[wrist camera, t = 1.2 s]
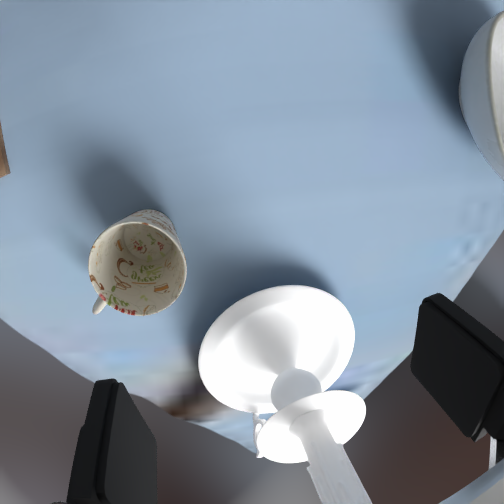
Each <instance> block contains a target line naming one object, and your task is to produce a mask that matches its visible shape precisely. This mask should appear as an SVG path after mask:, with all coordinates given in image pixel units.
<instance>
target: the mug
mask: <svg viewBox="0 0 504 504" xmlns="http://www.w3.org/2000/svg"><path fill="white" fill-rule="evenodd" d="M88 270H89V276H90V280H91V282H92V285H93V287H94V289H95V290H96V292H97V293H98V295H99V297H98V298H97V300H96V302H95V304H94V306H93V310H92V311H93V314H98V313H99V312H101V311H102V309H103V308H104V307H105V306H106V304H108V305H109V306H111V307H112V308H114V309H116V310H118V311H120V312H123V313H126V314H129V315H136V316H144V315H151V314H155V313H158V312H160V311H162V310H164V309H166V308H167V307H169V306H170V305H171V304H172V303H173V302H174V301H175V300H176V299H177V298H178V297H179V295H180V293H181V292H182V290H183V287H184V285H185V281H186V275H187V265H186V259H185V255H184V252H183V249H182V247H181V244H180V241H179V239H178V236H177V233H176V230H175V228H174V226H173V224H172V222H171V221H170V219H169V218H168V217H167V216H166V215H164V214H163V213H161V212H159V211H156V210H151V209H145V210H140V211H137V212H135V213H133V214H131V215H129V216H128V217H126V218H124V219H122V220H120V221H118V222H116V223H115V224H113V225H111V226H110V227H108V228H107V229H106V230H104V231H103V232H102V233H101V234H100V235H99V237H98V238H97V239H96V241H95V242H94V244H93V246H92V248H91V251H90V255H89V261H88Z"/></svg>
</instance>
